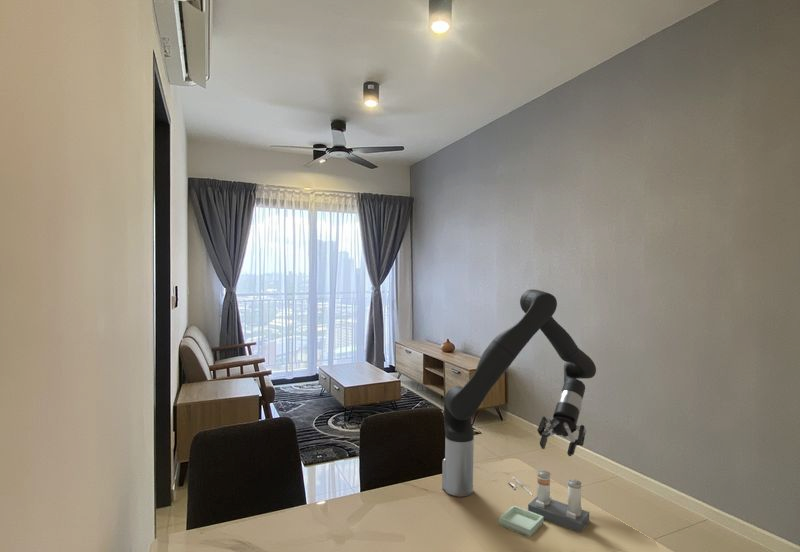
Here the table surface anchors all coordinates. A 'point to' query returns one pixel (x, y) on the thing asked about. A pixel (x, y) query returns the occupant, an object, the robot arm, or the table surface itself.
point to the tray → (521, 521)
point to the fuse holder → (559, 514)
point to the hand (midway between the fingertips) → (555, 451)
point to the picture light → (520, 484)
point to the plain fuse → (574, 497)
